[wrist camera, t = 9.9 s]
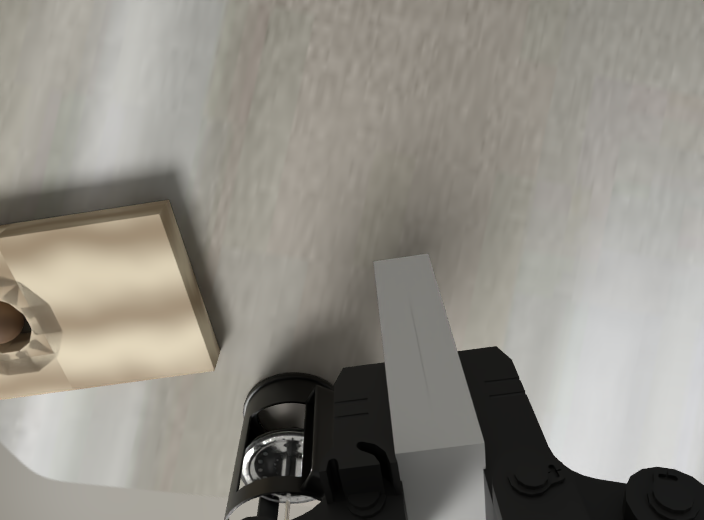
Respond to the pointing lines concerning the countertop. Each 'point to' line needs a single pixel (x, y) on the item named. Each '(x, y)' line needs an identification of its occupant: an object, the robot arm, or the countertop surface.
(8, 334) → the ball
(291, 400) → the french press
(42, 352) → the cutting board
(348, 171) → the countertop surface
